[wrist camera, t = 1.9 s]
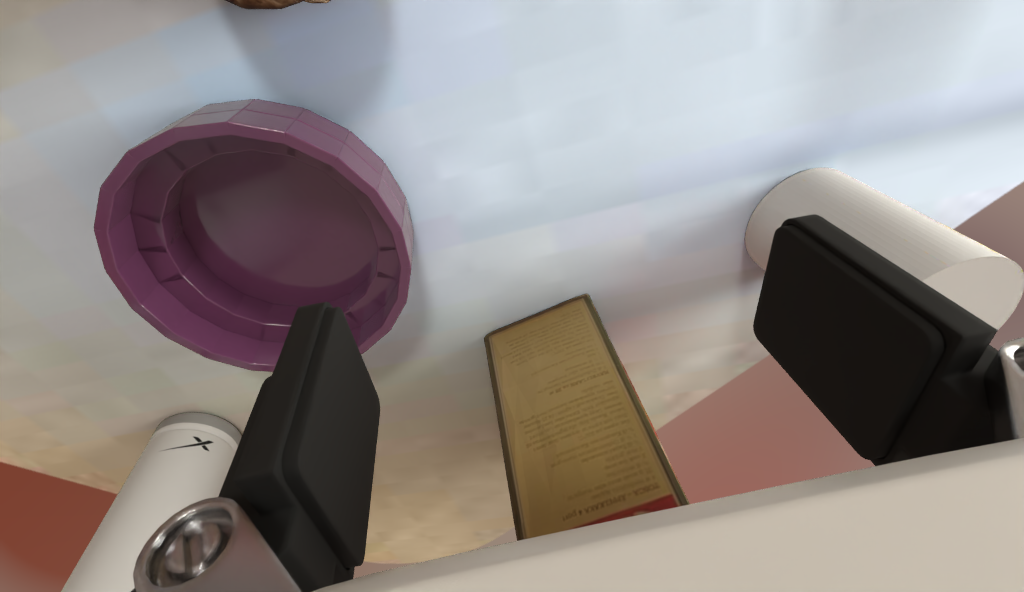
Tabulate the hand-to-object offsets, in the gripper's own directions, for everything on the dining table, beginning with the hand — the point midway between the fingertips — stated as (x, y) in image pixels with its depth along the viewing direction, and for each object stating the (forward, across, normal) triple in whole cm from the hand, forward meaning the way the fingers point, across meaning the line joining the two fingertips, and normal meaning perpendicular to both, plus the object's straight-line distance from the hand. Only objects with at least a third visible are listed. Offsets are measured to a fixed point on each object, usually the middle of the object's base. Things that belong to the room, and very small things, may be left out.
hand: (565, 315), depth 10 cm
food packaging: (+21, -3, +22) cm, 30 cm away
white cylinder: (+20, -22, +12) cm, 32 cm away
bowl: (+20, +13, +6) cm, 25 cm away
